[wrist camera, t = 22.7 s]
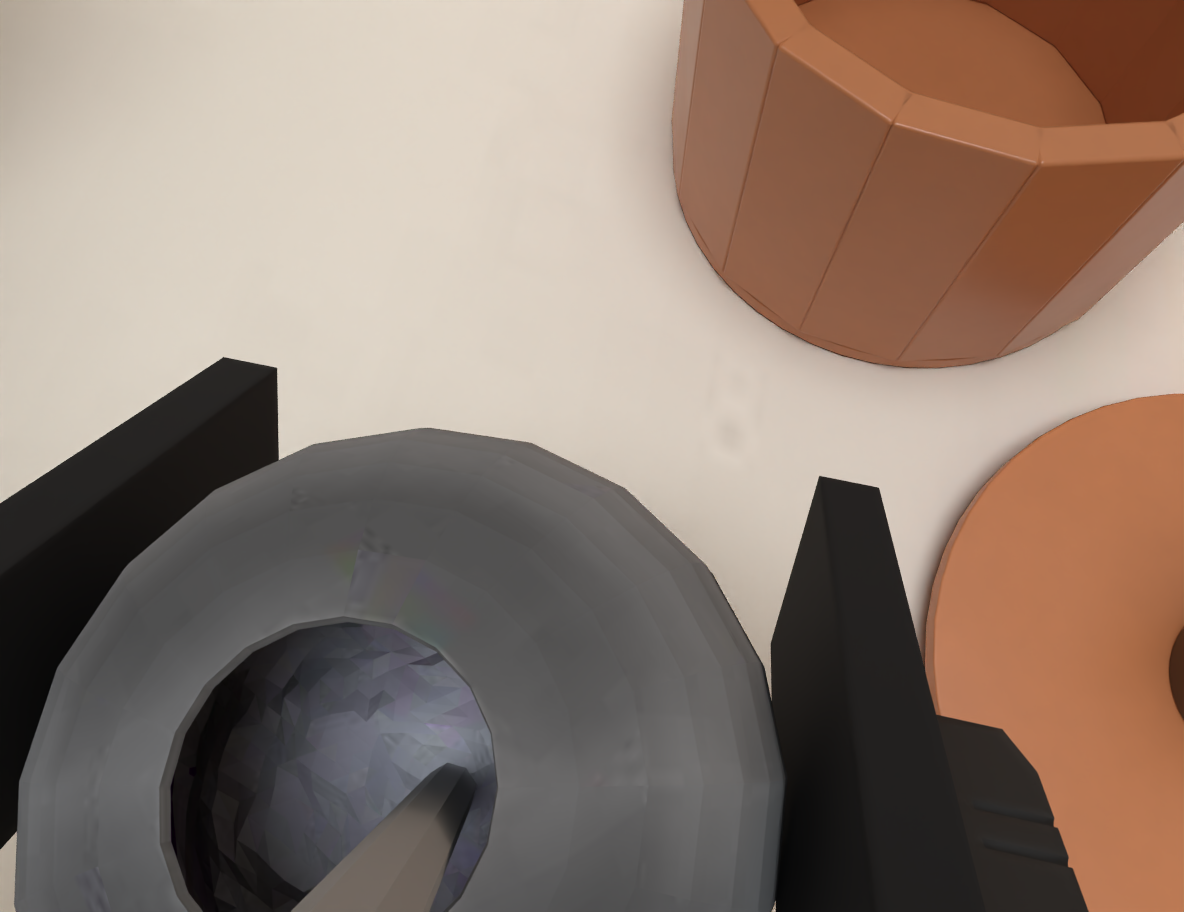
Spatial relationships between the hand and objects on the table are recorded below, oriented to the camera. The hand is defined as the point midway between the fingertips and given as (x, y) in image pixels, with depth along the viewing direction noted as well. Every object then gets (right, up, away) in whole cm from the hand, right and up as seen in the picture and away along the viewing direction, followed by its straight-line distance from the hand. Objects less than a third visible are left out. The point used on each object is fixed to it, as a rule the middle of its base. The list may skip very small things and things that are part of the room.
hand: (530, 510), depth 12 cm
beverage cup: (-1, -6, +8) cm, 10 cm away
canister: (+9, +9, +13) cm, 18 cm away
